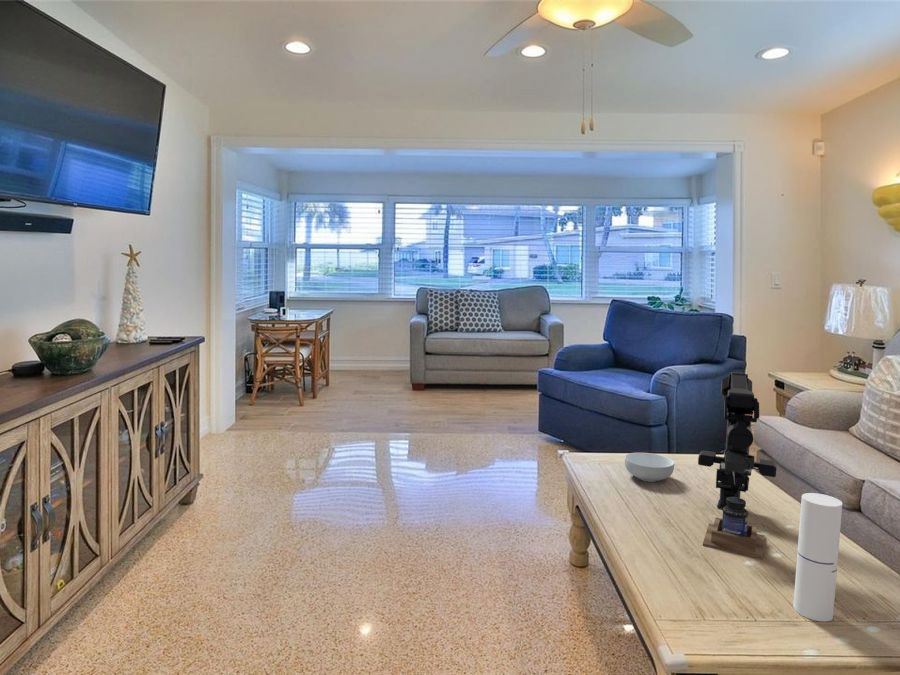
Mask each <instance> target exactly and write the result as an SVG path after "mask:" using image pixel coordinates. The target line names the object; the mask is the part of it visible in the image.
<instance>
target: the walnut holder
mask: <svg viewBox="0 0 900 675" xmlns="http://www.w3.org/2000/svg"><path fill="white" fill-rule="evenodd" d="M714 518H715V519H714V522H713V523H712V524H711V523H708V526H707V529H706V532H705V535H704V539H703V541H702V546H705V547H709V548H712V549H717V550H722V551H725V552H731V553H736V554H739V555H744V556H749V557H750V558H751V557H752V558H757V559H762V560H763V558H764V545H765V535H764V534H760V533H758V526H757V525H755V524H751V523H748V524H747V537H743V536H739V535H734V534H729V533H725V532H722V518H720V517H714Z"/></svg>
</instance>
